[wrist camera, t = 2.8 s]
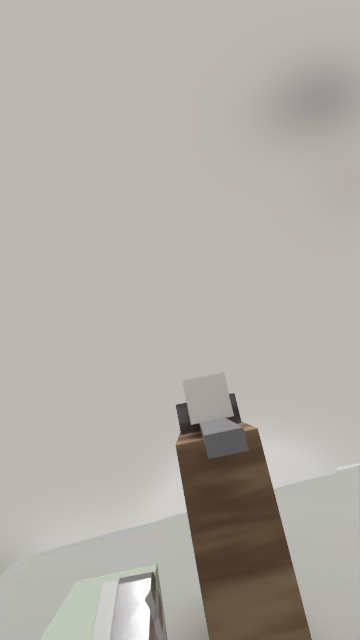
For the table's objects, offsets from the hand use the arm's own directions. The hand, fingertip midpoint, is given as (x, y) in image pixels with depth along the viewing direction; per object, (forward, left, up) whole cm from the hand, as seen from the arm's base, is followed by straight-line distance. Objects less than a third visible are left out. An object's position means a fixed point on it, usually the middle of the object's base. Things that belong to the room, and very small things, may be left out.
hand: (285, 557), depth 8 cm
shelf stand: (-17, -22, -24) cm, 37 cm away
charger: (-13, -16, +1) cm, 20 cm away
